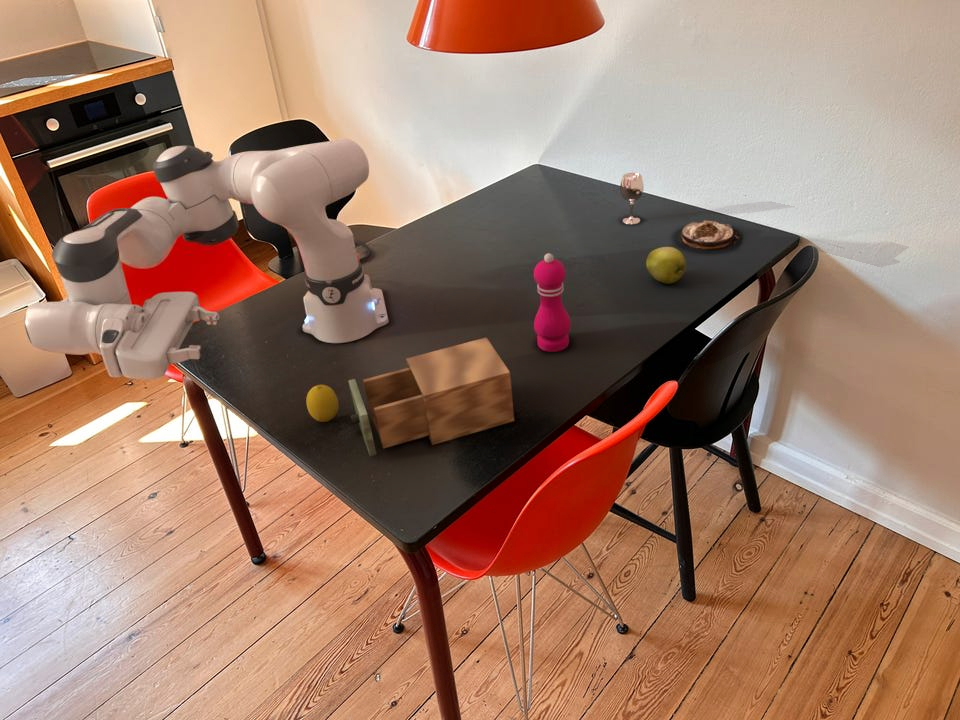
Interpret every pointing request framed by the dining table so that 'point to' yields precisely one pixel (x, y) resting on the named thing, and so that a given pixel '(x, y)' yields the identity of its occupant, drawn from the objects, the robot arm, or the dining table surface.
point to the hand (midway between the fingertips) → (209, 335)
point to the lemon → (322, 403)
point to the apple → (666, 264)
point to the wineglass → (631, 192)
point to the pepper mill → (551, 306)
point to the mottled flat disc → (707, 235)
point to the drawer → (390, 409)
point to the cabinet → (463, 389)
